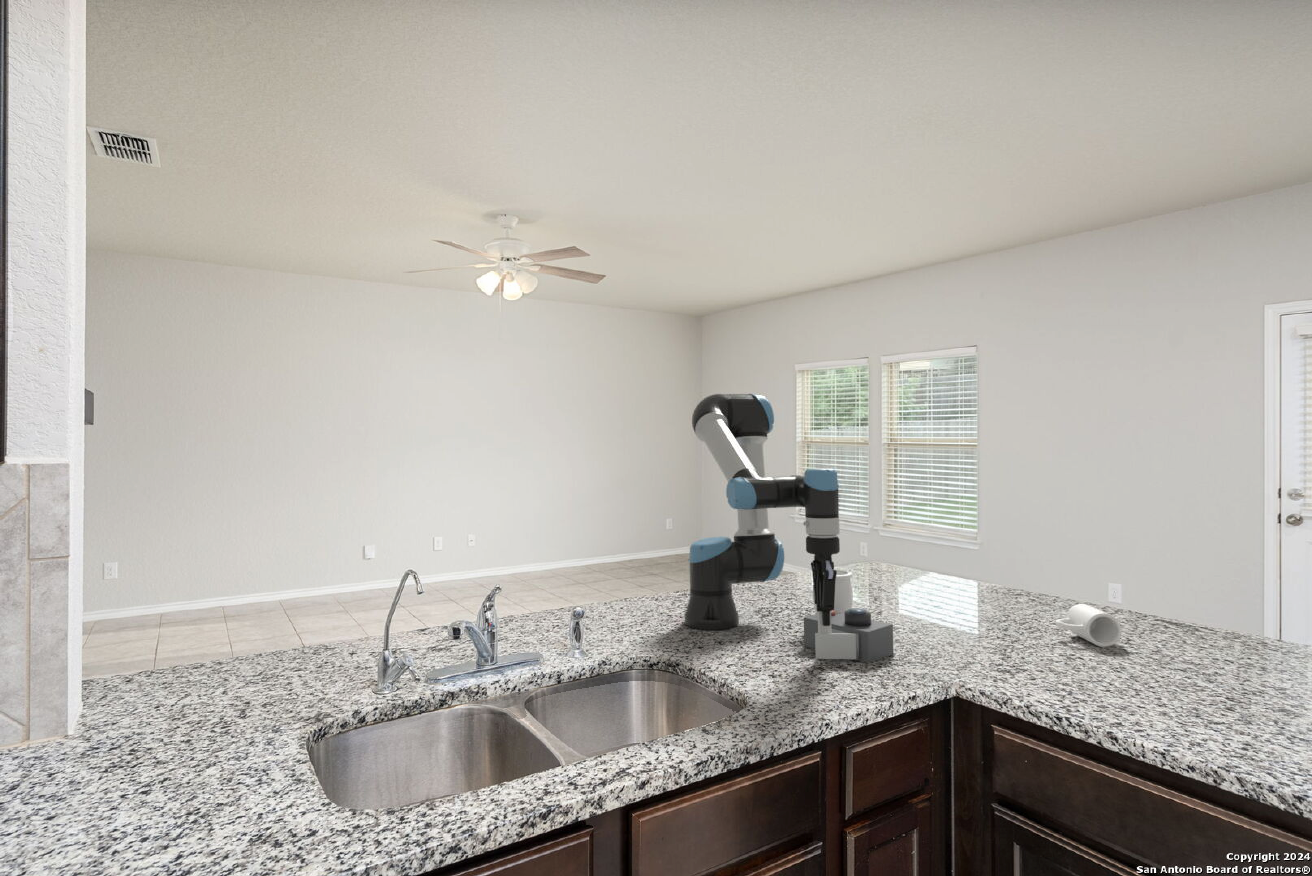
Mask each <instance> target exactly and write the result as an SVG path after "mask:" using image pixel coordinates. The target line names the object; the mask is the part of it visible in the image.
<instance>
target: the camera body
mask: <svg viewBox="0 0 1312 876" xmlns="http://www.w3.org/2000/svg"><path fill="white" fill-rule="evenodd" d="M831 628H832V633H851V634H855V633H858V634H859V659H853V661H854V660H855V661H858V662H861V663H865V664H872V663H874V662H877V661H880V660H882V659H884V658H887V657H890V656H893V655H894V624H893V623H889V622H884V621H881V620H875V619H872V613H871V612H870V611H868V610H867V609H865V608H860V607H859V608H857V607H856V608H854V607H852V608H851V609H849V610H847V611H845V612H844V614H842V613H837V612H835V611H831ZM815 633H818V614H816V613H814V614H811V615H807V616H804V617H803V646H804V647H807V648H809V649H813V650H816V649H815Z"/></svg>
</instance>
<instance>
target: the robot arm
mask: <svg viewBox="0 0 1312 876" xmlns="http://www.w3.org/2000/svg"><path fill="white" fill-rule="evenodd" d="M774 423H775V414H774V410H773V407H772V404H771V402H770V401H769V400H768V398H767V397H766V396H764V395H761V394H752V393H715V394H711V395H708V396H706V397H704V398H702V400H700V402H699V403H698V404H697V405H696V406H695V408H694V410H693V412H692V417H691V425H692V429H693V431H694V434H695V435H696V438H698V440H700V441H701V442H704V444H705V445H706V447H707V448H708V451H709V452H710V454H711V455H712V457H713V459H714V460H715V462H716V464H717V465H718V467H719V469H720V470H721V472H722V474H723V476H724V477H725V479H726V481H727V483H726V484H727V485H726V488H725V489H726V490H725V494H726V498H727V503H728V505H729V506H730V508H732V509H733V510H737V511H736V512H737V525H738V529H737V531H736V532H735V533H734V534H733V541H732V540H731V538H730V537H727V536H717V537H715V536H713V537H706V538H703V539H702V538H701V539H698V540H696V541H694V542H692V544H691V545H690V547H689V557H688V563H689V593H690V594H689V600H688V603H687V606H686V611H685V612H684V616H683V617H684V624H685V626H687V627H690V628H692V629H696V630H697V629H698V630H706V631H715V630H716V631H717V630H719V631H720V630H726V629H727V630H728V629H732V628H735V627H737V626H738V625H739V623H740V614H739V612H738V611H737V608H736V604H735V600H734V598H733V585H735V584H748V583H765V582H769V581H770V582H771V581H774V580H777V579H778V578H779V576H780V575H781V573H782V572H783V568H784V565H785V564H784V563H785V550H784V549H785V548H784V547H783V544H782V542H781V541H780V540H779V539H778V538H776V537H775V532H774V531H773V530H772V529H771V528H770V527H769V514H768V513H769V512H768V509H772V508H773V509H780V508H781V509H782V508H804V512H805V513H804V514H805V515H804V516H805V521H803V522H802V523H803V524H802V525H803V526H805V534H806V535H807V536H806V537H805V551H806V553H808V554H810V555H814V556H813V560H812V561H811V562H810V567H811V574H812V583H813V585H812V588H813V587H814V599H815V601H814V602H815V604H817V611H818V633H832V628H831V611H832V610H834V600H835V580H836V575H837V572H836V570H837V569H836V570H833V569H835V564H834V561H833V558H832V557H833V555H836V554H839V553H840V551H841V550H840V547H841V546H840V538H839V536H838V535H840V517H839V514H840V512H839V510H840V509H839V502H840V501H839V500H840V499H839V498H840V497H839V488H840V487H839V482H838V481H839V480H838V472H837V471H836V469H834V468H807V469H806V470H805V471H804V473H803V474H804V475H803V476H802V475H797V474H796V475H793V474H792V475H789V476H766V473H765V461H764V459H765V458H764V457H765V456H764V444H765V442H766V441H767V440H768V434H770V433H772V431H773V428H774ZM814 602H813V603H814Z"/></svg>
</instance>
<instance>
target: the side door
mask: <svg viewBox="0 0 1312 876" xmlns="http://www.w3.org/2000/svg"><path fill="white" fill-rule="evenodd" d="M814 650H815V659H816V660H818V659H819V660H854V659H859V634H858V633H855V634H851V633H815V649H814Z"/></svg>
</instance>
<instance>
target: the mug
mask: <svg viewBox="0 0 1312 876" xmlns="http://www.w3.org/2000/svg"><path fill="white" fill-rule="evenodd" d="M1055 626H1056V627H1058V628H1060V629H1062V630H1067V631H1068V630H1069V631H1070V632H1071V633H1073V634H1074V635H1076V636H1078V637H1080V638H1081V639H1084V640H1086V641H1087V642H1089V643H1091V644H1093V645H1095V646H1097V647H1102V648H1109V647H1112V646H1113V645H1115V644H1117V643H1118V641H1119V640H1120V639H1121V637H1122V632H1123V631H1122V626H1121V623H1120V622H1119V620H1118V619H1117V618H1116V617H1115V616H1113V615H1112V614H1109V613H1107V612H1106V611H1102V610H1100V609H1099V608H1096V607H1093V606H1091V605H1089V604H1084V603H1080V604H1079V603H1078V604H1076V605H1073V606H1071V608H1069V609H1068V610H1067V611H1066V614H1065V618H1059V619H1056V620H1055Z"/></svg>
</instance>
